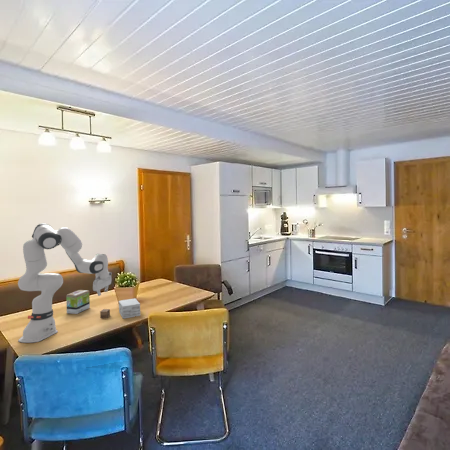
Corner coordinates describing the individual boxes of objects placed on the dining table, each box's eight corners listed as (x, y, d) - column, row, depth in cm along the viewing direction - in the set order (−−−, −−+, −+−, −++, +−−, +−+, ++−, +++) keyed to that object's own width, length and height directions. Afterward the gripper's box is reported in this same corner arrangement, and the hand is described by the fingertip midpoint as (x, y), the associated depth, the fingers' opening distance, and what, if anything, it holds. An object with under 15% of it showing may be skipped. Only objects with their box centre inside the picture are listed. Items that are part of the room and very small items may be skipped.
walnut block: (107, 318, 220) (106, 311, 220) (100, 318, 220) (100, 311, 220) (110, 315, 225) (109, 309, 225) (103, 315, 225) (103, 309, 225)
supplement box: (140, 315, 224) (140, 303, 224) (122, 319, 218) (122, 306, 217) (136, 309, 239) (135, 297, 239) (118, 312, 233) (118, 300, 232)
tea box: (77, 314, 229) (77, 295, 228) (66, 313, 231) (65, 294, 230) (90, 307, 244) (89, 289, 243) (79, 307, 246) (78, 289, 245)
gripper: (98, 279, 210) (99, 298, 211) (112, 272, 230) (113, 289, 231) (90, 278, 211) (90, 297, 212) (105, 271, 231) (105, 289, 232)
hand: (102, 293), depth 222 cm, fingers open, 8 cm apart
